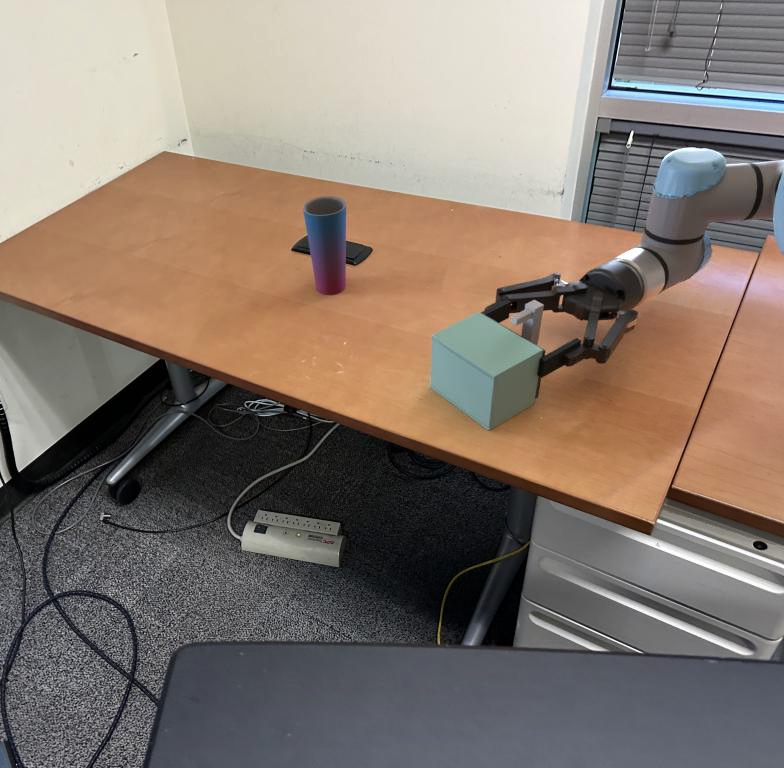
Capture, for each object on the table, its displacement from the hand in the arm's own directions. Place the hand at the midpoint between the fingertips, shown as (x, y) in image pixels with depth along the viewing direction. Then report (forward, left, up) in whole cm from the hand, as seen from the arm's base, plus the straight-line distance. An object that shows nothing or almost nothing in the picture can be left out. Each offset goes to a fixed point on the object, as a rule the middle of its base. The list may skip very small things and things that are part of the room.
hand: (505, 346), depth 89 cm
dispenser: (-2, +3, -7) cm, 7 cm away
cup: (+30, +19, -7) cm, 37 cm away
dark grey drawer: (0, +1, -6) cm, 6 cm away
